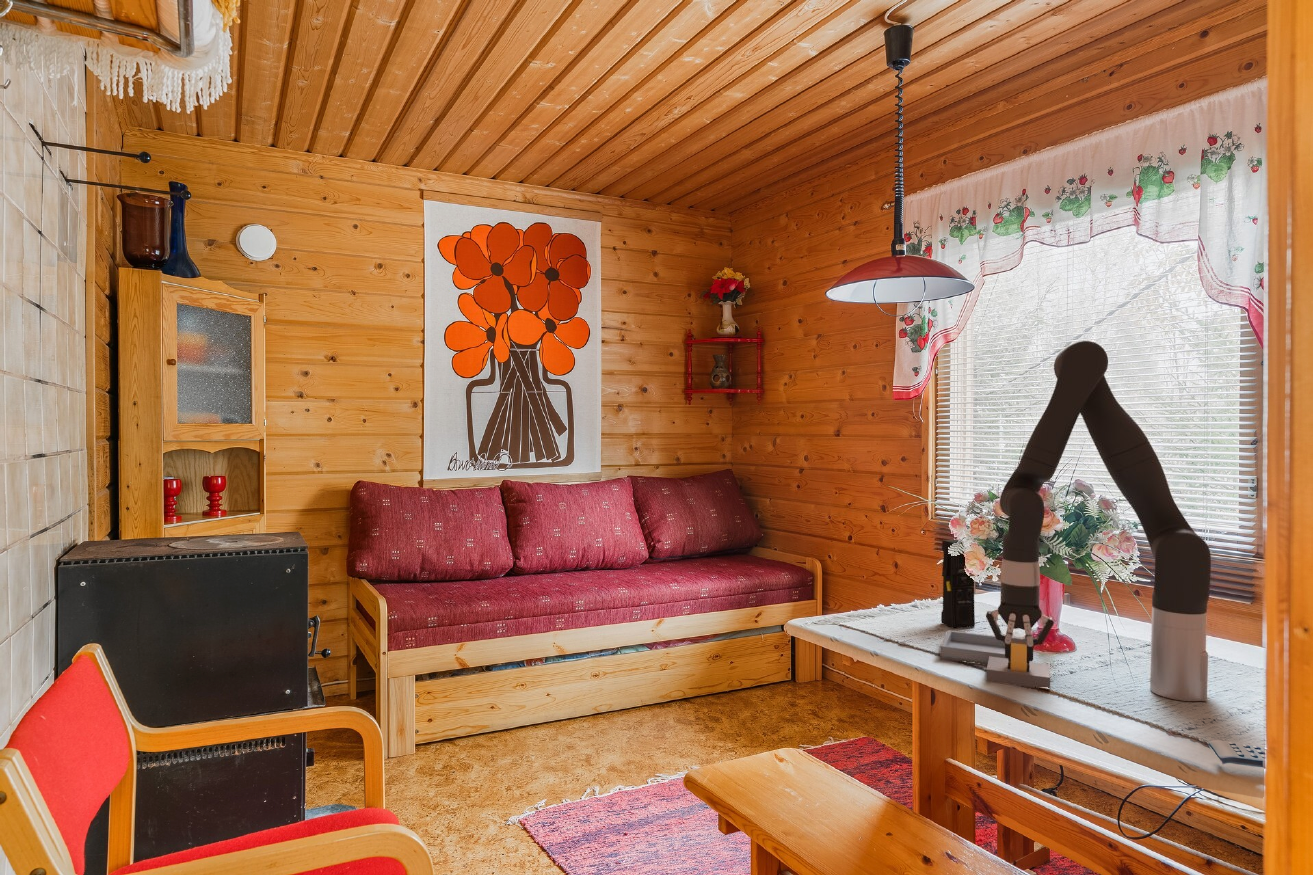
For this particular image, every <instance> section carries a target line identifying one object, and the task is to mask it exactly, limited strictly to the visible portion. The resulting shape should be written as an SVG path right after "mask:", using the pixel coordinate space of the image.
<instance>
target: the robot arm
mask: <svg viewBox="0 0 1313 875" xmlns="http://www.w3.org/2000/svg"><path fill="white" fill-rule="evenodd" d="M1108 367H1109V357H1108V354H1107V352H1106V350H1105V349H1104V347H1102V345H1100V344H1099V343H1097V342H1095V341H1092V340H1091V341H1090V340H1079V341H1077V342H1073V343H1071V344H1069V345H1068V346H1066V347H1065V348H1064V349H1062V351H1061V350H1060V352H1059V354H1057V356H1056V357H1055V359H1054V364H1053V372H1054V375H1055V377H1056V384H1055V386H1054V390H1053V393H1052V395H1051V397H1050V400H1049V402H1048V404H1047V407H1045V410H1044V412H1043V414H1042V416H1041V417H1040V419H1039V421H1038V422H1037V424H1036V425H1035V428H1034V430H1033V432H1032V433H1031V435H1030V437H1029V439H1028V441H1027V444H1026V446H1025V449H1024V451H1023V453H1022V455H1021V457H1020V460H1019V463H1018V465H1017V466H1016V468H1015V469H1014V471H1013V472H1012V474H1011V476H1010V477H1009V479H1008V480H1007V482H1006V483H1005V485H1004V487H1003V489H1002V491H1001V494H1000V497H999V508H1000V509H1001V511H1002V512H1003V513H1004V515H1006V516H1007V517H1009V521H1008V530H1007V532H1006V533H1004V534H1003V537H1002V539H1003V540H1002V559H1001V560H1002V561H1001V567H1000V576H999V577H1000V604H999V605H998V608H997V609H995V610H989V611H986V613H985V618H986V620H987V622H988V625H989V626H990V628H991V630H992V633H993V636H995V637H996V639H997V640H1001V641H1003V642H1004V643H1005V657H1006V658H1008V661H1010V662H1011V636H1012V634H1013V632H1014V629H1016V630H1017V629H1018V630H1019V629H1021V630H1023V631H1024V633H1025V635H1026V638H1027V664H1029V662H1034V647H1035V646H1038V645H1039V646H1042V645H1043V644H1044V642H1045V640H1046V638H1047V637H1048V635H1049V633H1050V631H1051V629H1052V628H1053V627H1054V624H1055V621H1054V620H1055V619H1054V618H1053V617H1052V616H1047V615H1045V614H1043V613H1042V610H1041V608H1040V597H1041V596H1040V592H1041V591H1040V590H1041V589H1040V587H1041V570H1040V569H1041V568H1040V562H1039V561H1040V560H1039V559H1040V543H1039V541H1040V537H1041V534H1042V530H1043V529H1042V528H1043V524H1044V521H1045V513H1046V512H1045V502H1044V500H1043V497H1042V496H1041V494H1040V493H1039V492H1040V490H1041V488H1043V486H1044V484H1045V483H1046V482H1048V481H1050V480H1052V478H1053V477H1054V474H1055V473H1056V471H1057V469H1058V466H1059V463H1060V461H1061V459H1062V456H1063V454H1064V452H1065V449H1066V447H1067V445H1068V442H1069V441H1070V440H1069V439H1070V437H1071V434H1072V431H1073V430H1074V427H1075V425H1076V423H1077V420H1078V419H1079V416H1080V415H1081V418H1082V420H1083V421H1084V425H1085V427H1086V428H1087V431H1088V433H1089V435H1090V438H1091V440H1092V442H1093V445H1094V446H1095V448H1096V450H1097V452H1098V454H1099V457H1100V459H1101V460H1102V462H1103V464H1104V466H1105V469H1106V470H1107V472H1108V473H1109V475H1110V477H1111V478H1112V481H1113V482H1114V483H1115V485H1116V487H1117V488H1118V489H1119V491H1120V493H1121V495H1122V496H1123V497H1124V499H1125V500H1126V501H1127V503H1129V505H1130V507H1131V508H1132V510H1133V511H1134V513H1135V514H1136V516H1137V518H1138V521H1139V522H1140V525H1141V527H1142V530H1143V531H1144V534H1145V536H1146V539H1147V542H1148V544H1149V548H1150V550H1151V554H1152V556H1153V559H1154V583H1153V592H1152V594H1151V595H1152V596H1151V629H1150V630H1151V632H1150V633H1151V635H1150V637H1151V638H1150V671H1149V673H1150V675H1149V676H1150V678H1149V683H1150V684H1149V686H1150V687H1149V689H1150V691H1151V692H1152V693H1154V694H1155V695H1158V696H1161V697H1163V698H1166V699H1167V698H1168V699H1171V700H1176V701H1182V702H1198V701H1199V702H1208V682H1209V681H1208V680H1209V678H1208V674H1209V673H1208V671H1209V654H1208V652H1207V621H1208V620H1207V616H1208V612H1207V611H1208V602H1209V598H1210V592H1211V591H1210V590H1211V572H1212V557H1211V556H1212V555H1211V550H1210V547H1209V545H1208V543H1206V541H1205V540H1204V539H1203V538H1202V537H1201V536H1199V535H1198V534H1197V533H1196V532H1195V530H1194V529H1193V528H1192V527H1191V525H1190V524H1189V522H1188V521H1187V520H1186V518H1185V516H1184V514H1183V513H1182V512H1181V510H1180V509H1179V507H1178V505H1177V504H1176V502H1175V500H1174V498H1173V496H1172V493H1171V489H1170V486H1169V482H1168V480H1167V477H1166V475H1165V471H1164V468H1163V467H1162V464H1161V461H1160V460H1159V457H1158V455H1157V454H1156V451H1155V450H1154V448H1153V446H1152V445H1151V442H1150V440H1149V439H1148V437H1147V435H1146V434H1145V433H1144V431H1143V430H1142V428H1141V427H1140V426H1139V425H1138V423H1137V422H1136V421H1135V420H1134V418H1132V417H1131V415H1130V414H1129V413H1128V412H1127V411H1126V410H1125V409H1124V408H1123V407H1122V406H1121V404H1120V403H1119V402H1118V400H1117V399H1116V397H1115V396H1114V394H1113V392H1112V390H1111V387H1110V385H1109V384H1108V381H1107V378H1106V376H1105V373H1106V372H1107V370H1108ZM999 616H1000V617H1001V619H1002V621H1004V623H1005V624H1006V626H1007V627H1006V632H1005V633H1003V632H1002V630H1001V628H1000V626H999V624H998V622H997V621H998V619H999ZM1039 620H1041V624H1040V625H1041V626H1042V628H1041V630H1040V631H1039V633H1038V635H1037V637H1034V635H1033V629H1032V628H1033V627H1034V626H1035V625H1036V624H1037V622H1038V621H1039Z"/></svg>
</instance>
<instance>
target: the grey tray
mask: <svg viewBox="0 0 1313 875" xmlns="http://www.w3.org/2000/svg"><path fill="white" fill-rule="evenodd" d="M939 649H940V650H939V651H940V652H939V656H940V657H939V659H940V660H943V661H944V660H945V661H953V662H959V661H966V662H975V663H980V664H979V665H981V664H984V666H987V665H988V661H989V656H991V657H998V658H1006V657H1005V643H1004V642H1003V641H1001V640H997V639H996V637H995V635H994V634H993V635H992V634H984V633H975V632H965V631H958V630H957V631H956V630H946V632H945V634H944V637H943V640H942V642H941V644H940V646H939ZM1006 659H1008V658H1006ZM966 662H965V663H966Z"/></svg>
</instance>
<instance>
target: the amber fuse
mask: <svg viewBox="0 0 1313 875" xmlns="http://www.w3.org/2000/svg"><path fill="white" fill-rule="evenodd" d="M1011 670H1018V671H1026V672H1027V638H1026V635H1025V632H1021V631H1020V632H1019V631H1013V634H1012V636H1011Z"/></svg>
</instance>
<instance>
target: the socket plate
mask: <svg viewBox="0 0 1313 875" xmlns="http://www.w3.org/2000/svg"><path fill="white" fill-rule="evenodd" d="M1050 664H1051V663H1045V662H1036V661H1030V662H1029V664H1027V672H1026V671H1018V670H1011V662H1010V661H1008V659H1006V658H998V657H991V656H989V661H988V665H986V682H991V683H997V684H1005V685H1013V686H1020V687H1026V688H1032V689H1033V688H1034V689H1039V688H1038V687H1048V688H1050V689H1051V665H1050ZM1035 687H1036V688H1035Z"/></svg>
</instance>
